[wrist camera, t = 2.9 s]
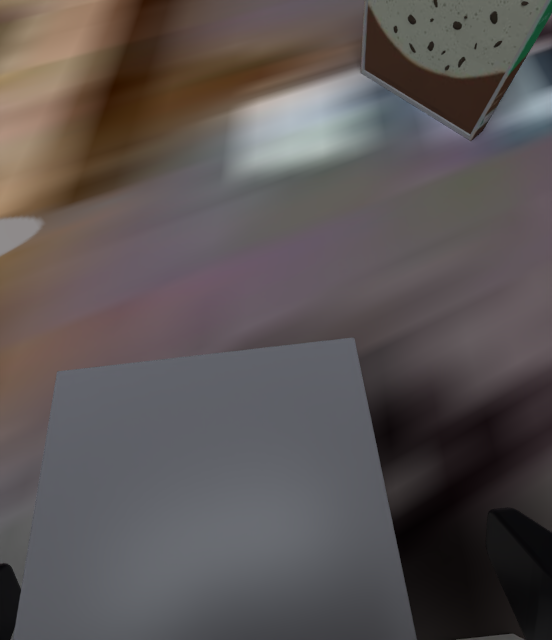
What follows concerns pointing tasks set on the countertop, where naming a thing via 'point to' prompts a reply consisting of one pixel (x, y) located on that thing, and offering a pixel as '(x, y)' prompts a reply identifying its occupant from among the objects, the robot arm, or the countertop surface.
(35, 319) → the countertop surface
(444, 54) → the food container
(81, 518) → the plug
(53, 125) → the countertop surface
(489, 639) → the socket
